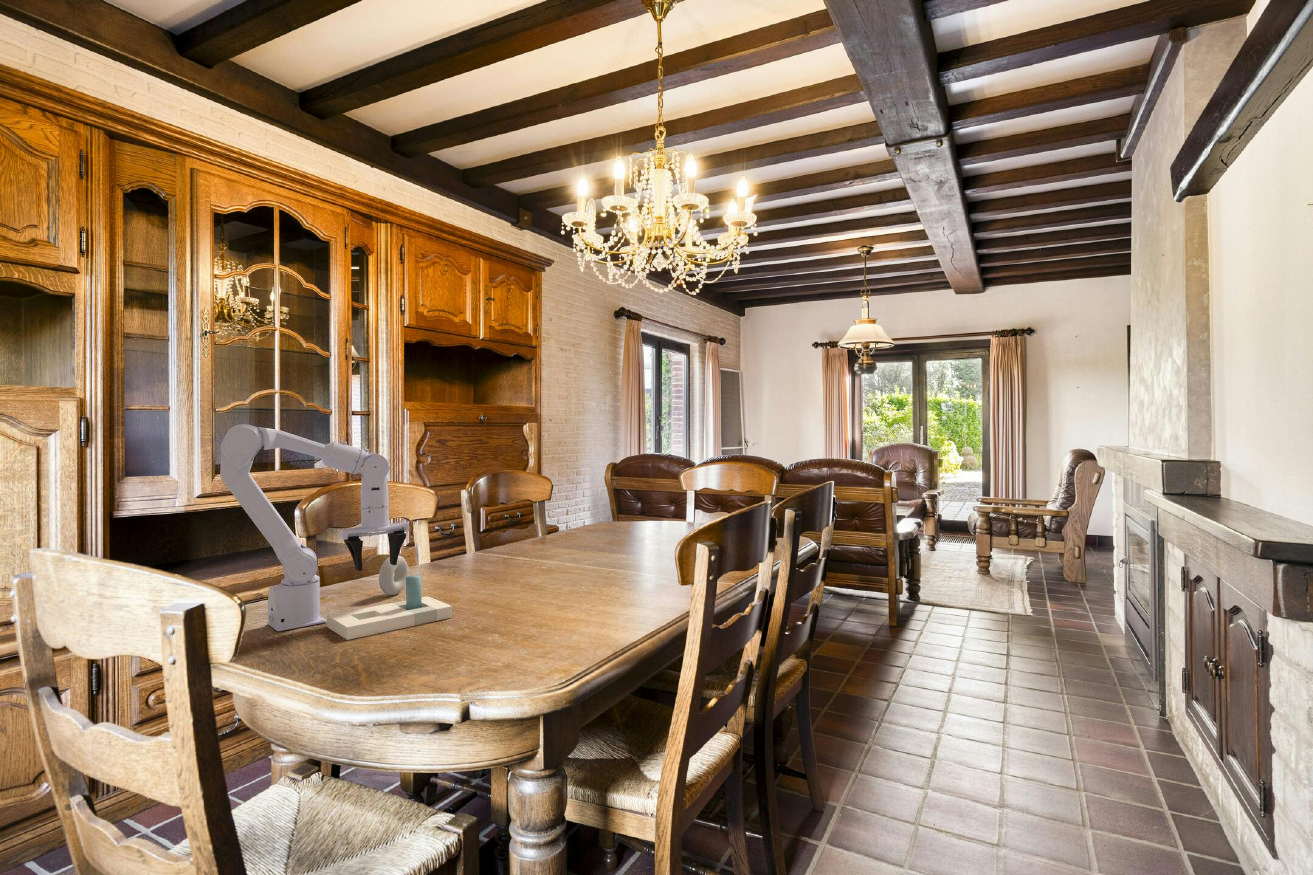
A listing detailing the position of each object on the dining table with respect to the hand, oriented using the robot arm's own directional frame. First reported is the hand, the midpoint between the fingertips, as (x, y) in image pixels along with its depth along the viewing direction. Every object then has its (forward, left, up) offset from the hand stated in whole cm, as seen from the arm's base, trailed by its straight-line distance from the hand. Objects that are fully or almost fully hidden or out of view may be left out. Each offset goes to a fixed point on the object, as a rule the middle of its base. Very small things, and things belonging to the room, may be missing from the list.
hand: (376, 567), depth 147 cm
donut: (+10, +14, -11) cm, 20 cm away
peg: (+5, -9, -10) cm, 14 cm away
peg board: (0, -9, -10) cm, 14 cm away
